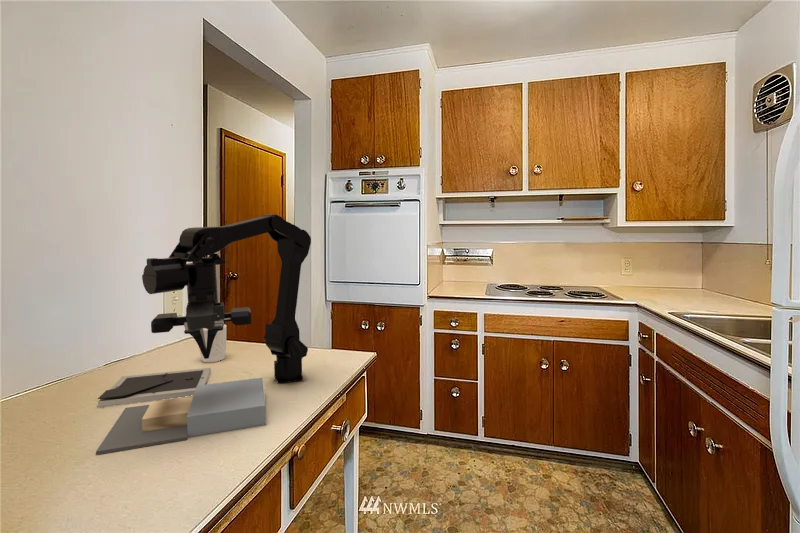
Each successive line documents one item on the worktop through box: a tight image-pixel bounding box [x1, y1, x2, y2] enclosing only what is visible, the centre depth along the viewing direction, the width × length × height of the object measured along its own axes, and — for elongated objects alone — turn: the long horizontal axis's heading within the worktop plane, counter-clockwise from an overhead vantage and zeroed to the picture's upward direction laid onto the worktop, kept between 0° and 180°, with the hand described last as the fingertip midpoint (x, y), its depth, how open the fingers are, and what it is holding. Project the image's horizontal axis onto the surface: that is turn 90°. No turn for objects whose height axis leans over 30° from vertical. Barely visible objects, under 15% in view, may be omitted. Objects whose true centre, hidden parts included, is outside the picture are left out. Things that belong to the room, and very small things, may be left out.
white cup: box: [199, 323, 227, 363], centre depth 118 cm, size 8×8×10 cm
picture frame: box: [97, 367, 212, 408], centre depth 97 cm, size 16×3×21 cm
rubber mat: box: [95, 404, 189, 456], centre depth 79 cm, size 14×18×1 cm
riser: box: [187, 377, 267, 438], centre depth 84 cm, size 14×16×4 cm
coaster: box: [142, 396, 193, 432], centre depth 80 cm, size 8×8×2 cm
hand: (206, 358), depth 84 cm, fingers closed
